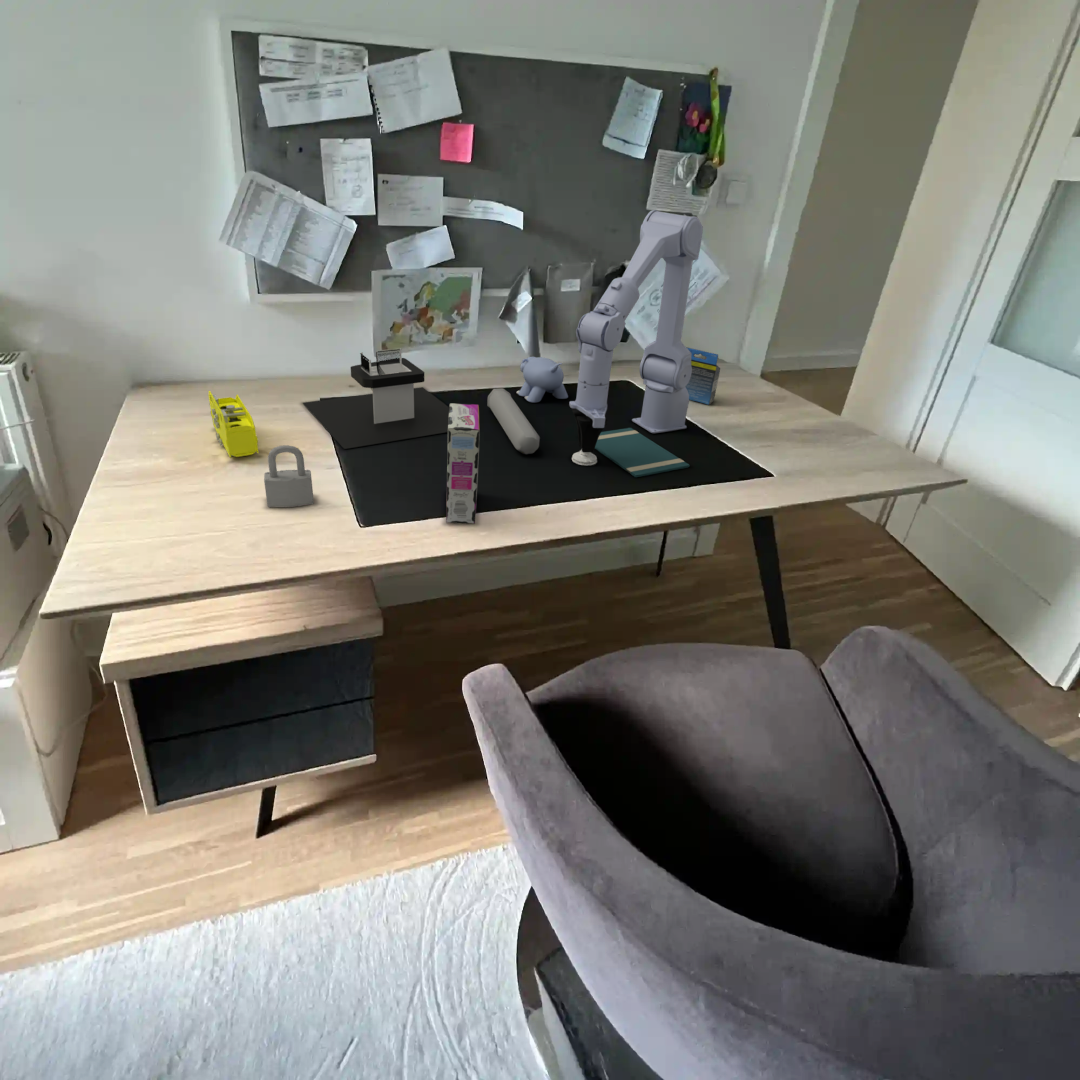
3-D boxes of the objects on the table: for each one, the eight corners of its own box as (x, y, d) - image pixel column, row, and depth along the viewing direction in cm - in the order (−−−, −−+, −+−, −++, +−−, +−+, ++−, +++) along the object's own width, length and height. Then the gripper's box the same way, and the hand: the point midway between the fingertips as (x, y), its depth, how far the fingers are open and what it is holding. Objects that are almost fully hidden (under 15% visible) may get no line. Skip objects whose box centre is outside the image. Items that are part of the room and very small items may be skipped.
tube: (547, 437, 139) (514, 391, 159) (523, 430, 137) (492, 385, 157) (537, 462, 141) (505, 413, 161) (512, 455, 139) (483, 407, 159)
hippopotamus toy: (543, 381, 180) (546, 343, 175) (575, 401, 169) (579, 361, 164) (504, 385, 175) (506, 346, 170) (535, 407, 164) (537, 365, 159)
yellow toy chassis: (211, 429, 141) (204, 387, 136) (242, 425, 143) (236, 384, 139) (227, 462, 129) (220, 417, 125) (261, 457, 132) (255, 413, 127)
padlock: (313, 494, 121) (307, 439, 116) (314, 506, 118) (308, 449, 113) (268, 498, 119) (260, 441, 114) (267, 509, 116) (259, 452, 110)
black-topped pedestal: (422, 387, 169) (421, 330, 162) (475, 428, 151) (477, 365, 144) (302, 403, 156) (296, 341, 149) (344, 449, 137) (339, 381, 130)
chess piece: (579, 467, 138) (585, 417, 133) (567, 456, 142) (572, 408, 137) (601, 463, 140) (607, 414, 135) (588, 453, 144) (594, 405, 139)
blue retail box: (714, 401, 176) (725, 351, 170) (708, 405, 173) (719, 354, 167) (680, 392, 180) (689, 343, 174) (674, 396, 177) (683, 346, 171)
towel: (630, 429, 156) (630, 427, 156) (689, 467, 142) (689, 464, 141) (579, 437, 150) (579, 435, 150) (635, 477, 136) (635, 475, 136)
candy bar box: (477, 525, 116) (480, 429, 108) (445, 524, 116) (446, 428, 107) (476, 493, 126) (479, 402, 117) (447, 492, 125) (448, 401, 117)
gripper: (564, 367, 138) (558, 433, 145) (580, 393, 126) (573, 464, 133) (600, 368, 139) (593, 434, 146) (619, 394, 127) (610, 464, 134)
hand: (585, 448), depth 140 cm, fingers closed on chess piece, 2 cm apart
